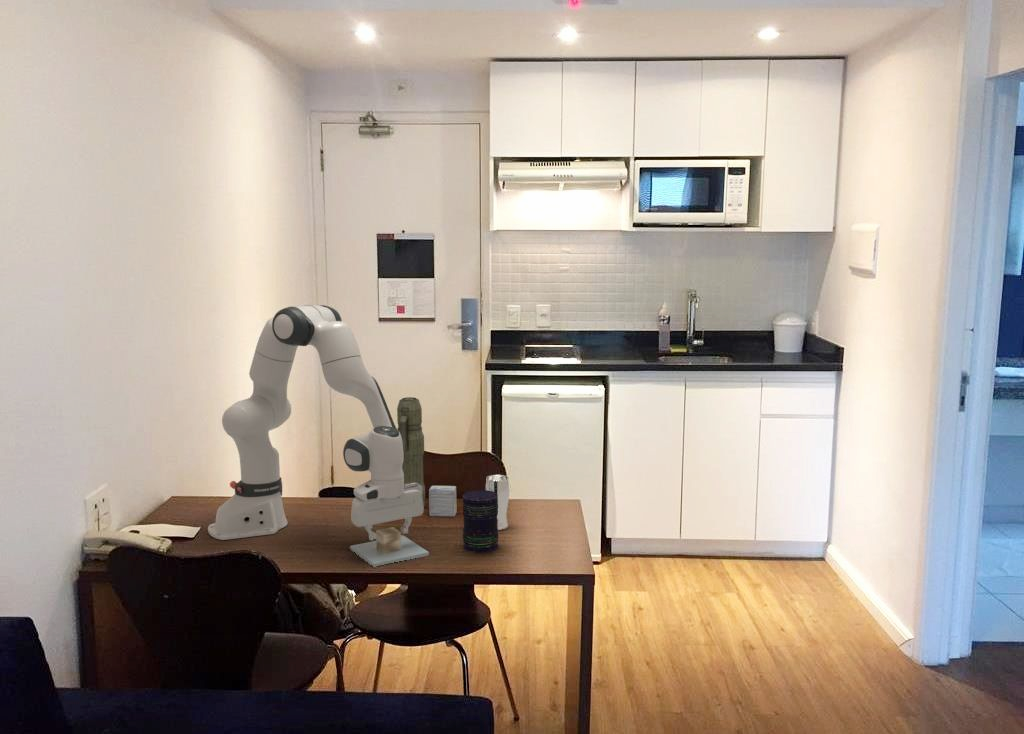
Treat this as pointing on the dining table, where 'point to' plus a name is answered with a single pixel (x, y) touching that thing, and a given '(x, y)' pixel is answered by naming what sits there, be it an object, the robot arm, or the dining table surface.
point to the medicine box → (442, 501)
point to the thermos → (411, 440)
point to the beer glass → (500, 497)
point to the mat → (379, 558)
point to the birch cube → (388, 540)
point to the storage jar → (480, 521)
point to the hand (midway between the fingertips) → (388, 536)
